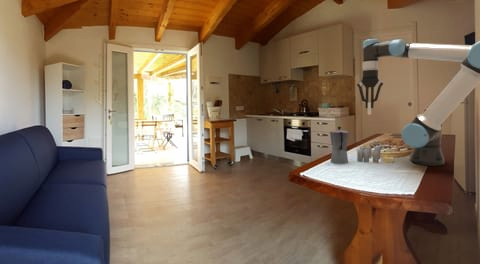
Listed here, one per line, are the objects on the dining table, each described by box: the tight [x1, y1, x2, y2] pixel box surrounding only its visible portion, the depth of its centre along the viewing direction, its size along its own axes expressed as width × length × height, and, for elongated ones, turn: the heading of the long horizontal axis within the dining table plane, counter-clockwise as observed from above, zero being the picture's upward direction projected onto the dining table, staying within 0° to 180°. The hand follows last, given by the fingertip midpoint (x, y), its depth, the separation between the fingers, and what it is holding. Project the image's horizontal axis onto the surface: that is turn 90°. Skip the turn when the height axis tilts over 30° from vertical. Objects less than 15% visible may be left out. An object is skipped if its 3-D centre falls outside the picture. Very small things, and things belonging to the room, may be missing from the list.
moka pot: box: [329, 126, 349, 165], centre depth 156 cm, size 10×15×20 cm, turn 174°
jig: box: [356, 145, 382, 164], centre depth 159 cm, size 11×12×7 cm
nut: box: [382, 156, 394, 163], centre depth 154 cm, size 5×5×3 cm
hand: (369, 114), depth 158 cm, fingers closed
